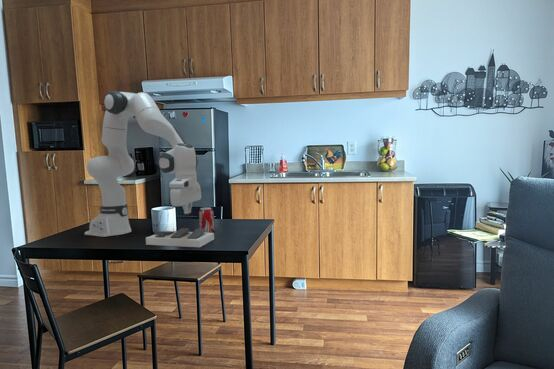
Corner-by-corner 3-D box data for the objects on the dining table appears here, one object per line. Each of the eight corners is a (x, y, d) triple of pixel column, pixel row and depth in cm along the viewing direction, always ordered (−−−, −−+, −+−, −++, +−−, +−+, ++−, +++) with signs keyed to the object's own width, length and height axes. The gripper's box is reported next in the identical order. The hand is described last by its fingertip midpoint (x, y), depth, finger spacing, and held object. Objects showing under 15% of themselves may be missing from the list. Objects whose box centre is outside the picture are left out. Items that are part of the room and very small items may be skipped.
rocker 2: (187, 241, 162) (187, 237, 162) (197, 231, 170) (196, 228, 170) (196, 241, 161) (195, 238, 161) (205, 231, 169) (204, 228, 169)
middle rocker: (171, 239, 164) (170, 236, 164) (181, 231, 173) (180, 228, 172) (179, 240, 163) (178, 237, 163) (189, 231, 172) (188, 228, 171)
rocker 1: (155, 235, 166) (155, 231, 166) (166, 234, 175) (166, 231, 175) (162, 235, 165) (163, 231, 165) (173, 235, 174) (174, 231, 174)
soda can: (211, 233, 182) (210, 209, 181) (197, 233, 184) (196, 209, 183) (216, 230, 189) (215, 207, 188) (203, 230, 191) (202, 207, 189)
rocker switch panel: (146, 244, 165) (145, 237, 165) (164, 237, 178) (163, 230, 178) (199, 247, 158) (199, 240, 158) (214, 239, 171) (213, 232, 171)
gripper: (191, 179, 172) (192, 209, 173) (166, 183, 152) (168, 217, 154) (204, 179, 170) (205, 209, 172) (180, 184, 151) (182, 218, 152)
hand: (187, 213), depth 162 cm, fingers closed
